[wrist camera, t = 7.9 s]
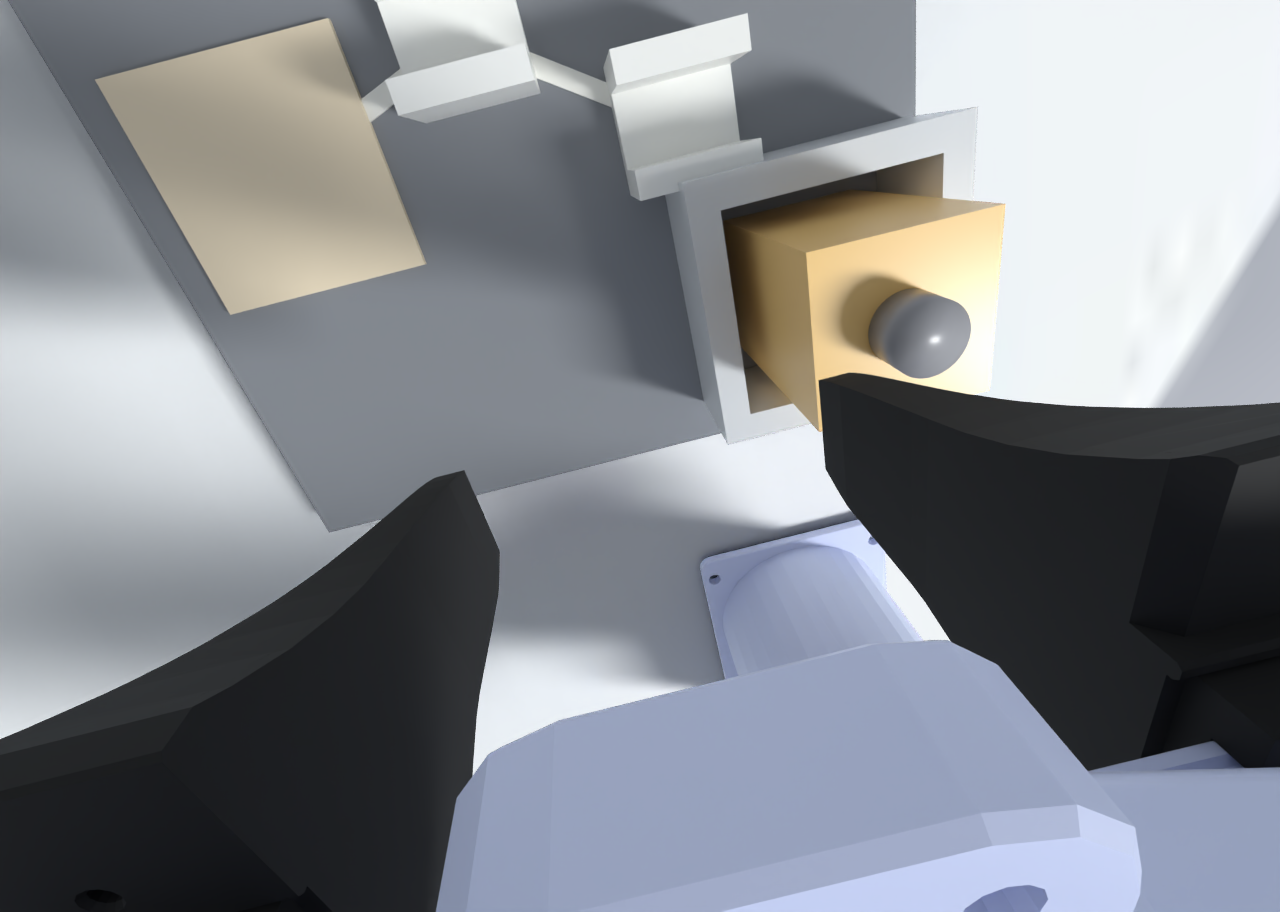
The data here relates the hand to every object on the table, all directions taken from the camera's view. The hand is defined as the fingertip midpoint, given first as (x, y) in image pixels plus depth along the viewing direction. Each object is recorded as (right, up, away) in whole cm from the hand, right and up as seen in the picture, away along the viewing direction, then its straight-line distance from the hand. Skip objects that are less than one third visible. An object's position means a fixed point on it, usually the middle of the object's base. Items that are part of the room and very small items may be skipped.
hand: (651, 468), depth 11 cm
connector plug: (+5, +6, +7) cm, 10 cm away
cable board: (-3, +7, +6) cm, 10 cm away
